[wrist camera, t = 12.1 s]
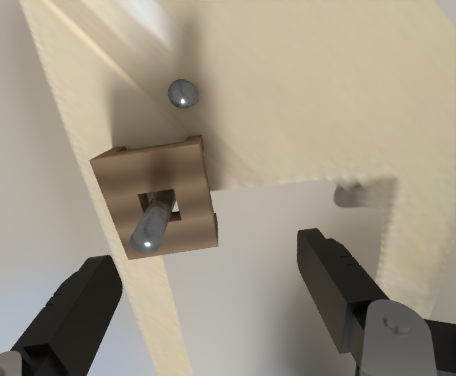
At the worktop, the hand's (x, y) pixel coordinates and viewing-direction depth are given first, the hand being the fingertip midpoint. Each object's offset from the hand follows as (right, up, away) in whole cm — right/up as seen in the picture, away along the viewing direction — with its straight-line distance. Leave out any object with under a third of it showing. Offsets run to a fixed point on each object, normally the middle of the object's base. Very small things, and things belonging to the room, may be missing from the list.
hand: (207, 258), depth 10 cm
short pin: (-5, +17, +23) cm, 29 cm away
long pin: (-9, +3, +28) cm, 30 cm away
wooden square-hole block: (-9, +3, +28) cm, 30 cm away
